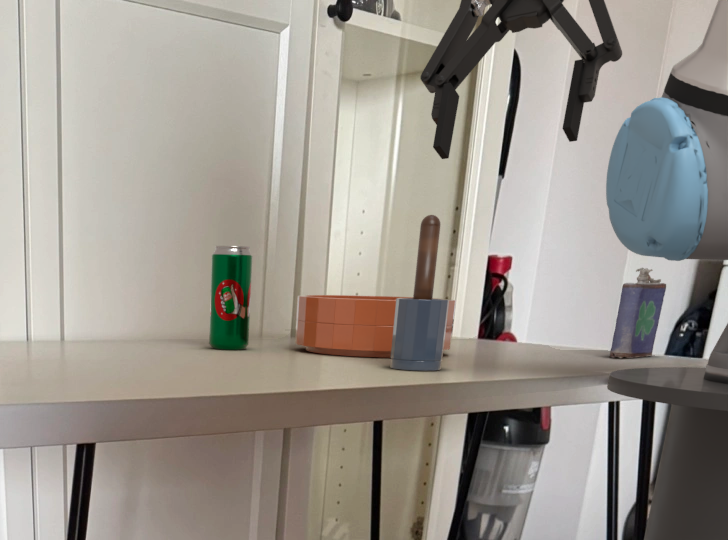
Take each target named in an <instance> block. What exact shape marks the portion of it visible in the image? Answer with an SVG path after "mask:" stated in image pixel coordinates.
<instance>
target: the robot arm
mask: <svg viewBox="0 0 728 540" xmlns="http://www.w3.org/2000/svg"><path fill="white" fill-rule="evenodd" d="M564 1H565V0H460V4H459V7H458V10H457V11H456V13H455V15H454V17H453V18H452V20H451V22H450V23H449V25H448V27H447V29H446V30H445V32H444V34H443V35H442V37H441V39H440V41H439V43H438V45H437V46H436V48H435V50H434V51H433V52H432V54H431V56H430V58H429V60H428V62H427V63H426V65H425V67H424V69H423V70H422V72H421V74H420V79H419V80H420V81H421V83H422V84H423V85H424V86H425V88H426V89H427V91H428V92H429V93H430V94H434V96H433V102H432V108H431V119H432V121H433V122H434V124H435V125H436V127H435V132H434V139H433V144H432V147H433V149H434V151H435V152H436V153H437V155H438V156H439V157H440V159H441V160H446V159H449V158H450V152H451V147H452V143H453V135H454V130H455V123H456V118H457V112H458V107H459V100H460V95H459V93H458V92H457V89H458V87H459V86H460V85H461V84H462V83H463V82H464V80H465V79H466V78H467V77H468V76H469V74H470V73H471V72H472V71H473V70H474V69H475V67H476V66H477V65H478V64H479V62H480V61H482V59H484V57H485V55H487V53H488V52H489V51H490V50H491V49H492V48H493V46H494V45H495V44H496V43H499V42H501V41H502V40H503V39H504V38H505V36H506V35H507V34H508V33H509V31H511V33H512V34H515V33H520V32H522V31H525V30H527V29H533V30H534V29H540V28H543V25H544V24H546V23H547V22H549V20H550V21H551V22H552V24H553V25H554V26H555V27H556V29H557V30H558V31H559V32H560V33H561V34H562V35H563V37H564V38H565V40H566V41H567V42H568V44H570V46H571V47H572V48H573V50H574V51H575V52H576V54H577V55H578V56H579V58H580V59H576V60H574V64H573V68H572V74H571V79H570V85H569V90H568V95H567V100H566V105H565V106H566V108H565V112H564V116H563V117H564V118H563V123H562V131H563V133H564V134H565V136H566V138H567V140H568V142H569V143H571V142H576V141H577V142H578V138H579V133H580V126H581V122H582V115H583V111H584V105H585V103H591V102H593V100H594V98H595V96H596V90H597V86H598V81H599V75H600V70H601V69H602V67H603V66H604V65H605V64H607V63H609V62H613V63H615V62H617V61H619V60H620V59H621V58H622V57H623V49H622V47H621V44H620V41H619V38H618V36H617V32H616V30H615V27H614V25H613V22H612V18H611V16H610V13H609V10H608V7H607V4H606V1H605V0H588V2H589V6H590V9H591V11H592V12H591V13H592V14H593V18H594V19H595V23H596V26H597V29H598V31H599V34H600V38H601V40H602V42H601V43H599V44H598V45H596V44H595V42H593V41H592V40H591V39H590V38H589V36H588V35H587V34H586V32H585V31H584V29H582V27H581V26H580V25H579V23H578V22H577V21H576V20H575V18H574V17H573V16H572V15H571V13H570V11H568V9H567V8H566V7H565V5H564V4H563V2H564ZM489 5H491V6H490V7H489V8H488V9H487V10H486V11H485V13H484V10H485V9H486V7H488V6H489ZM713 10H714V11H713V13H712V16H711V18H710V21H709V23H708V27H707V29H706V32H705V34H704V37H703V40H702V42H701V44H700V45H699V46H698V47H697V48H696V49H695V50H694V51H692V52H691V53H690V54H688V55H687V56H685V57H684V58H683V59H682V58H681V60H679V61H678V62H677V63H675V64H674V65H673V66H672V68H671V70H670V73H669V75H668V77H667V81H666V83H665V86H664V89H663V92H662V95H661V97H653V98H652V99H650V100H647V101H645V102H642V103H640V104H638V106H636V107H635V108H634V109H633V111H631V113H630V116H629V117H627V118H626V119H624V121H623V123H622V124H621V126H620V128H619V130H618V132H617V134H616V137H615V139H614V142H613V144H612V148H611V151H610V155H609V160H608V165H607V172H606V181H605V183H606V184H605V197H606V198H605V199H606V206H607V208H608V216H609V222H610V224H611V227H612V230H613V232H614V234H615V235H616V237H617V239H618V240H619V242H620V243H621V245H623V246H624V247H625V248H626V249H627V250H628V251H630V252H632V253H634V254H636V255H639V256H642V257H643V256H644V257H653V258H663V259H665V260H668V261H671V262H675V261H676V262H680V261H684V260H707V261H708V260H713V261H728V0H717V2H716V4H715V7H714V9H713ZM479 18H481V21H480V23H479V25H478V26H477V27H476V24H477V22H478V20H479ZM497 19H499V21H500V22H499V23H498V24H497V23H496V22H497ZM475 27H476V29H475V30H474V28H475ZM473 30H474V31H473ZM705 368H706V370H705V375H704V379H706V380H709V381H713V382H718V383H724V384H728V322H727V323H726V325H725V327H724V329H723V331H722V333H721V334H720V336H719V338H718V339H717V341H716V343H715V345H714V346H713V349H712V350H711V352H710V354H709V357H708V361H707V363H706V366H705Z"/></svg>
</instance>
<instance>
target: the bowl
mask: <svg viewBox="0 0 728 540" xmlns="http://www.w3.org/2000/svg"><path fill="white" fill-rule="evenodd" d="M396 298H413V296H391V295H390V296H388V295H358V294H357V295H354V294H353V295H351V294H350V295H349V294H348V295H347V294H345V295H344V294H299V295H297V299H296V300H297V303H296V319H295V337H294V343H295V345H298V346H302V347H305V351H306V352H309V353H313V354H320V355H328V356H329V355H330V356H341V357H354V358H355V357H357V358H358V357H359V358H384V359H386V358H387V359H391V348H392V337H393V327H394V317H395V306H396ZM432 299H440V298H439V297H437V298H436V297H433V298H432ZM446 299H447V300H449V306H448V315H447V323H446V332H445V341H444V349H443V351H448V350H450V349H451V347H452V339H453V330H454V321H455V310H456V304H457V299H451V298H446Z"/></svg>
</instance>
